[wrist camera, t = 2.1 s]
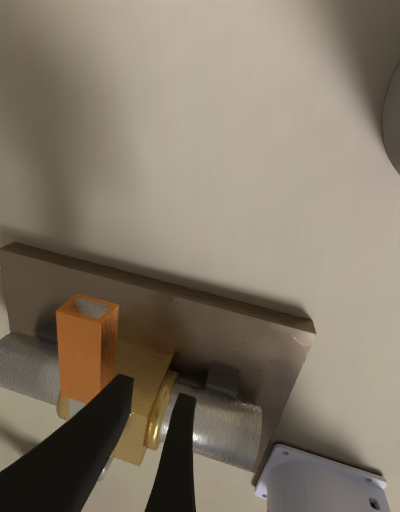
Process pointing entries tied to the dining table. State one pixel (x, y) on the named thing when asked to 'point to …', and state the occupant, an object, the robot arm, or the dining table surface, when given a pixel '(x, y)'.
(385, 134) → the coffee mug
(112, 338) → the valve lever
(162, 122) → the dining table surface
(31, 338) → the valve manifold
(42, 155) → the dining table surface
